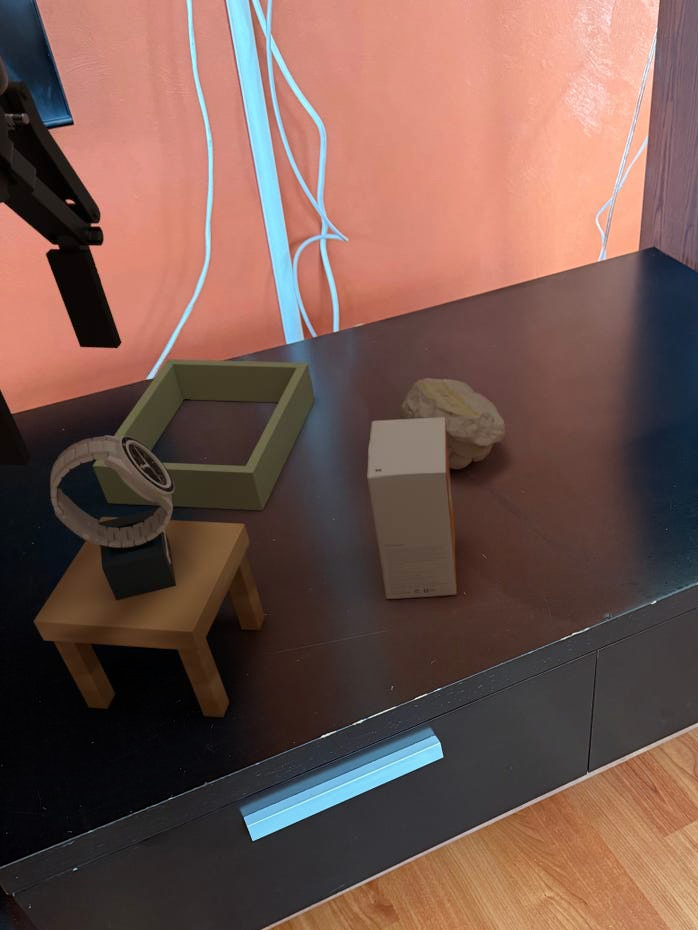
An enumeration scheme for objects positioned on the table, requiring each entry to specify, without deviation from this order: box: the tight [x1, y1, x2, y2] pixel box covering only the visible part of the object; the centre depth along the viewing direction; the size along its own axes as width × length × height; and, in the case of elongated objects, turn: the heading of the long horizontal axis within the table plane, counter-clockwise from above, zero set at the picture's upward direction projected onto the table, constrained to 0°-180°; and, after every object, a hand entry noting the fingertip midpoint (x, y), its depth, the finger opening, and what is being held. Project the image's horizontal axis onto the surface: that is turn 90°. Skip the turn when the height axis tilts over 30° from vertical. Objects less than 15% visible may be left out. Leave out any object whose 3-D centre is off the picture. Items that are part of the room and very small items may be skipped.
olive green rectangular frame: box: [92, 358, 316, 511], centre depth 98 cm, size 16×20×4 cm
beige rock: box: [400, 377, 506, 470], centre depth 95 cm, size 12×8×10 cm
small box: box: [366, 417, 458, 600], centre depth 80 cm, size 8×6×13 cm
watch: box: [49, 434, 176, 601], centre depth 67 cm, size 6×8×11 cm
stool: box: [33, 516, 266, 718], centre depth 75 cm, size 12×12×10 cm
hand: (58, 399), depth 61 cm, fingers open, 13 cm apart
